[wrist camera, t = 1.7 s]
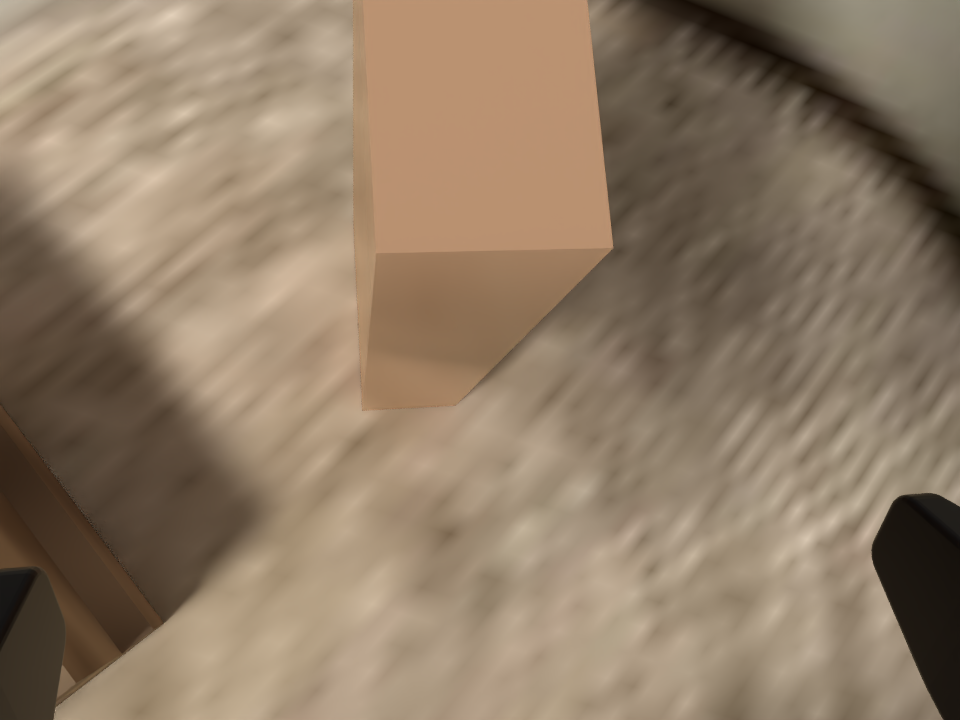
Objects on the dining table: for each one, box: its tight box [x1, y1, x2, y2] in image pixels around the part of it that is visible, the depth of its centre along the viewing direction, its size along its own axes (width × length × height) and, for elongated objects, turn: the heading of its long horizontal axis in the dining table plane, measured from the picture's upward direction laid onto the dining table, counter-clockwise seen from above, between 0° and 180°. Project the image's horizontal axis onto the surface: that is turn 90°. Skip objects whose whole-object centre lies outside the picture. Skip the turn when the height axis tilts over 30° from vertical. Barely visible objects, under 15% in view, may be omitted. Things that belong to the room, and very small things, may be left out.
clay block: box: [353, 0, 613, 411], centre depth 15 cm, size 5×2×13 cm, turn 4°
